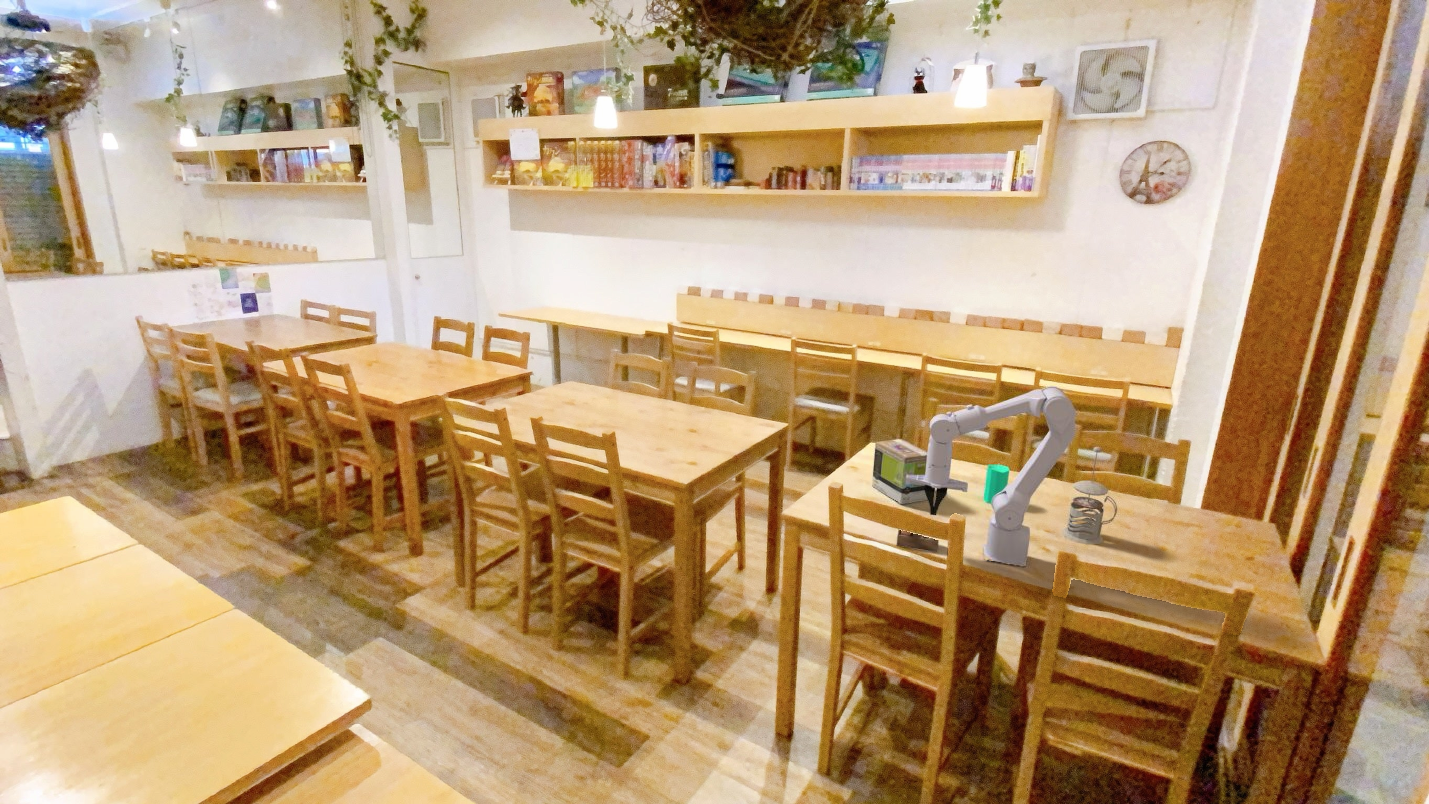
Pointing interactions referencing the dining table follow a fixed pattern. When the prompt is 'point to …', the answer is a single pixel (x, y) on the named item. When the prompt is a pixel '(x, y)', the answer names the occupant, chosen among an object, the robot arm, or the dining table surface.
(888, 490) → the tea box
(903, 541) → the plug block
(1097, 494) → the french press
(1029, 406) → the robot arm
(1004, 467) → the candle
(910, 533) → the terracotta plug
